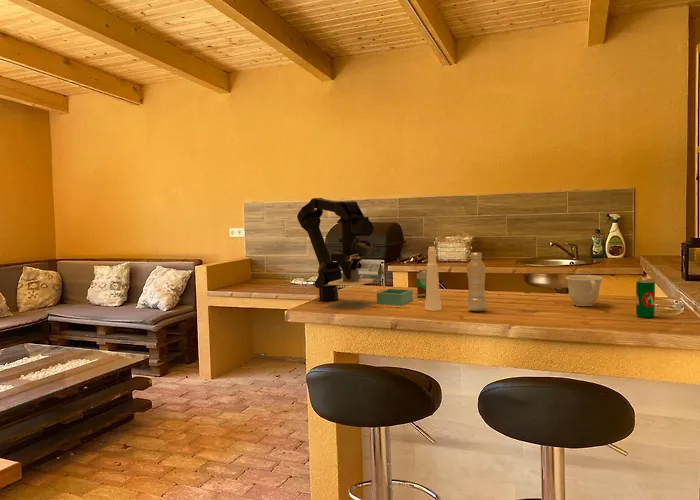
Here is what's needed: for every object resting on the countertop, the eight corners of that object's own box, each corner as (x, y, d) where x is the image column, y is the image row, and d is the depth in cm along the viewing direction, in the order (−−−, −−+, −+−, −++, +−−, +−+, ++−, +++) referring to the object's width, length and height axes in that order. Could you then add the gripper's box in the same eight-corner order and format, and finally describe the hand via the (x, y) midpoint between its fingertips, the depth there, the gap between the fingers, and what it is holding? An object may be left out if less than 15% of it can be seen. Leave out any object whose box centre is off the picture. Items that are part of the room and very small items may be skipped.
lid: (328, 284, 191) (327, 271, 191) (344, 280, 202) (344, 267, 201) (357, 286, 185) (356, 272, 185) (373, 281, 196) (372, 268, 195)
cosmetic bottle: (431, 306, 191) (430, 245, 189) (445, 308, 186) (444, 246, 184) (421, 309, 186) (419, 247, 184) (435, 311, 182) (433, 247, 180)
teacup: (576, 311, 175) (576, 281, 174) (559, 302, 190) (559, 275, 189) (613, 310, 175) (613, 280, 174) (593, 302, 190) (594, 274, 189)
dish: (377, 306, 195) (376, 292, 194) (388, 301, 204) (388, 288, 203) (402, 308, 190) (401, 294, 190) (412, 303, 199) (412, 290, 198)
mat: (325, 309, 192) (325, 307, 192) (344, 302, 204) (344, 300, 204) (359, 312, 185) (359, 309, 185) (377, 305, 197) (377, 302, 197)
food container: (433, 298, 206) (432, 273, 206) (417, 298, 208) (416, 273, 207) (434, 293, 218) (434, 269, 218) (419, 293, 220) (418, 269, 219)
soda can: (637, 314, 167) (638, 276, 166) (655, 316, 164) (656, 277, 163) (634, 317, 164) (634, 278, 163) (652, 319, 160) (653, 280, 159)
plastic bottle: (473, 313, 177) (472, 254, 175) (463, 310, 183) (462, 252, 181) (490, 312, 178) (489, 252, 177) (480, 308, 185) (479, 251, 183)
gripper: (356, 237, 180) (357, 283, 181) (380, 234, 196) (381, 275, 198) (328, 237, 186) (330, 281, 187) (354, 234, 202) (355, 274, 203)
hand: (350, 278), depth 194 cm, fingers closed on lid, 3 cm apart
